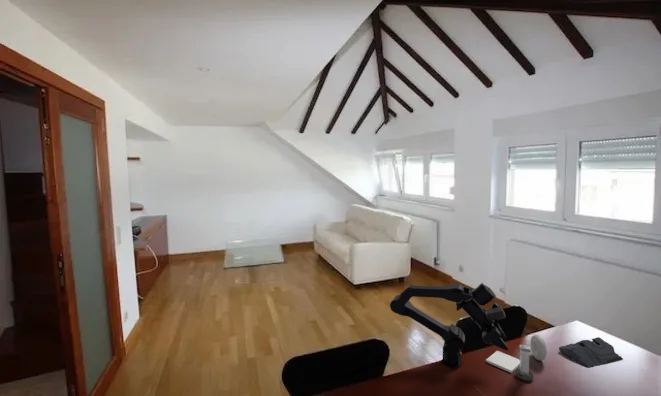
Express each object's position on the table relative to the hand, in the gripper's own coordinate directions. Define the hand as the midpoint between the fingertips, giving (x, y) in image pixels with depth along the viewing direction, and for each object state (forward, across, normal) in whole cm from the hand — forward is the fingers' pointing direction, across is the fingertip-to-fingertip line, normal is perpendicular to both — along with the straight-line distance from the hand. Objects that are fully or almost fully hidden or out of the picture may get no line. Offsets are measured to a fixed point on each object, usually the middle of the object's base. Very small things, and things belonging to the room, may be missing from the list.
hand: (506, 343), depth 126 cm
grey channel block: (+13, 0, +4) cm, 14 cm away
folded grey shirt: (+33, +27, -14) cm, 45 cm away
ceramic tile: (+9, +8, +8) cm, 14 cm away
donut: (+18, +16, -1) cm, 24 cm away
